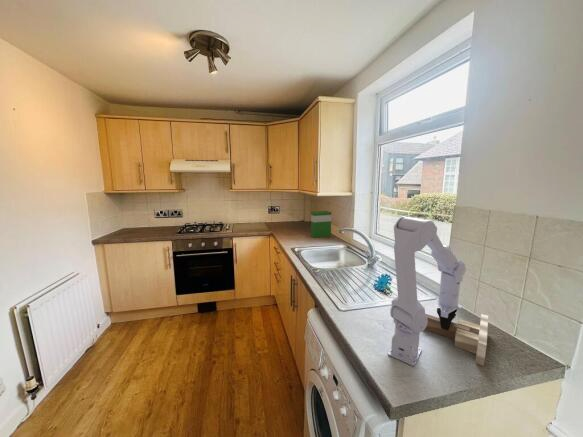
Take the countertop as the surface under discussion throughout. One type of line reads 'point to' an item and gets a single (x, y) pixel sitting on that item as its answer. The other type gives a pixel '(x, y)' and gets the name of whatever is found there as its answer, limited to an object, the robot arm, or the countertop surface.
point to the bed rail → (435, 327)
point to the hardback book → (320, 224)
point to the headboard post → (473, 338)
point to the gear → (383, 282)
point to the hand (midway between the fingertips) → (445, 327)
